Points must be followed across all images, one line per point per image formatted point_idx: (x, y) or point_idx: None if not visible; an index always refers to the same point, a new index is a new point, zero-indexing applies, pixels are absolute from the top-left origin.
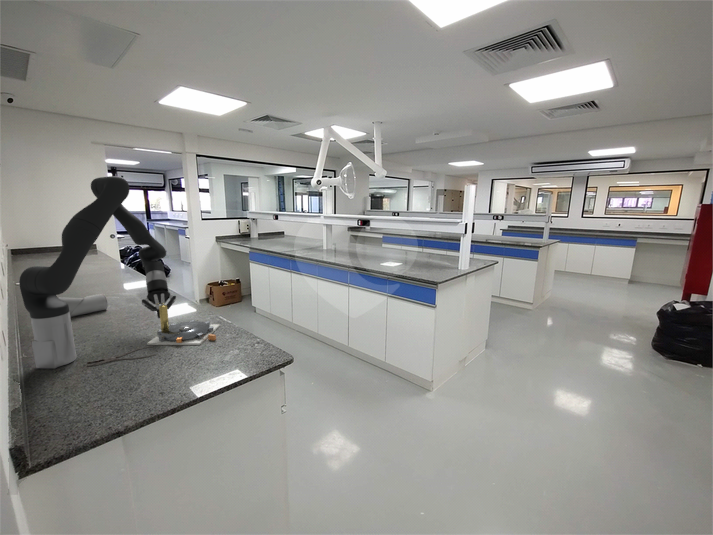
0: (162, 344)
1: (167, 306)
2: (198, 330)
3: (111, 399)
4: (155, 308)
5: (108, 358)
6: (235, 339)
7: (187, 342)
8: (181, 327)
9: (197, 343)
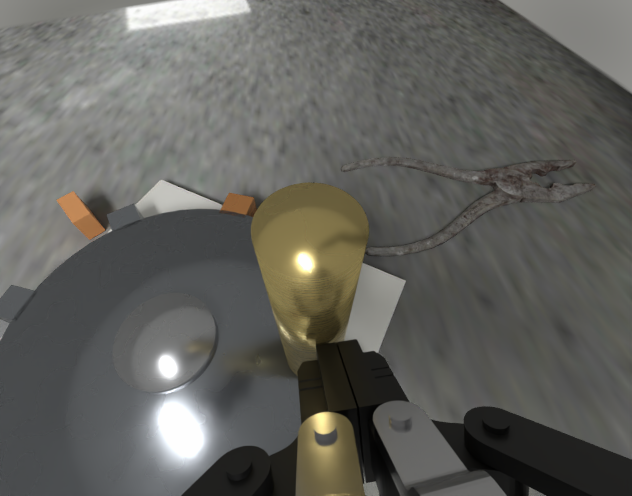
0: None
1: (251, 446)
2: (109, 275)
3: (402, 21)
4: (448, 439)
5: (523, 186)
6: (2, 184)
7: (208, 206)
8: (196, 344)
9: (169, 183)
